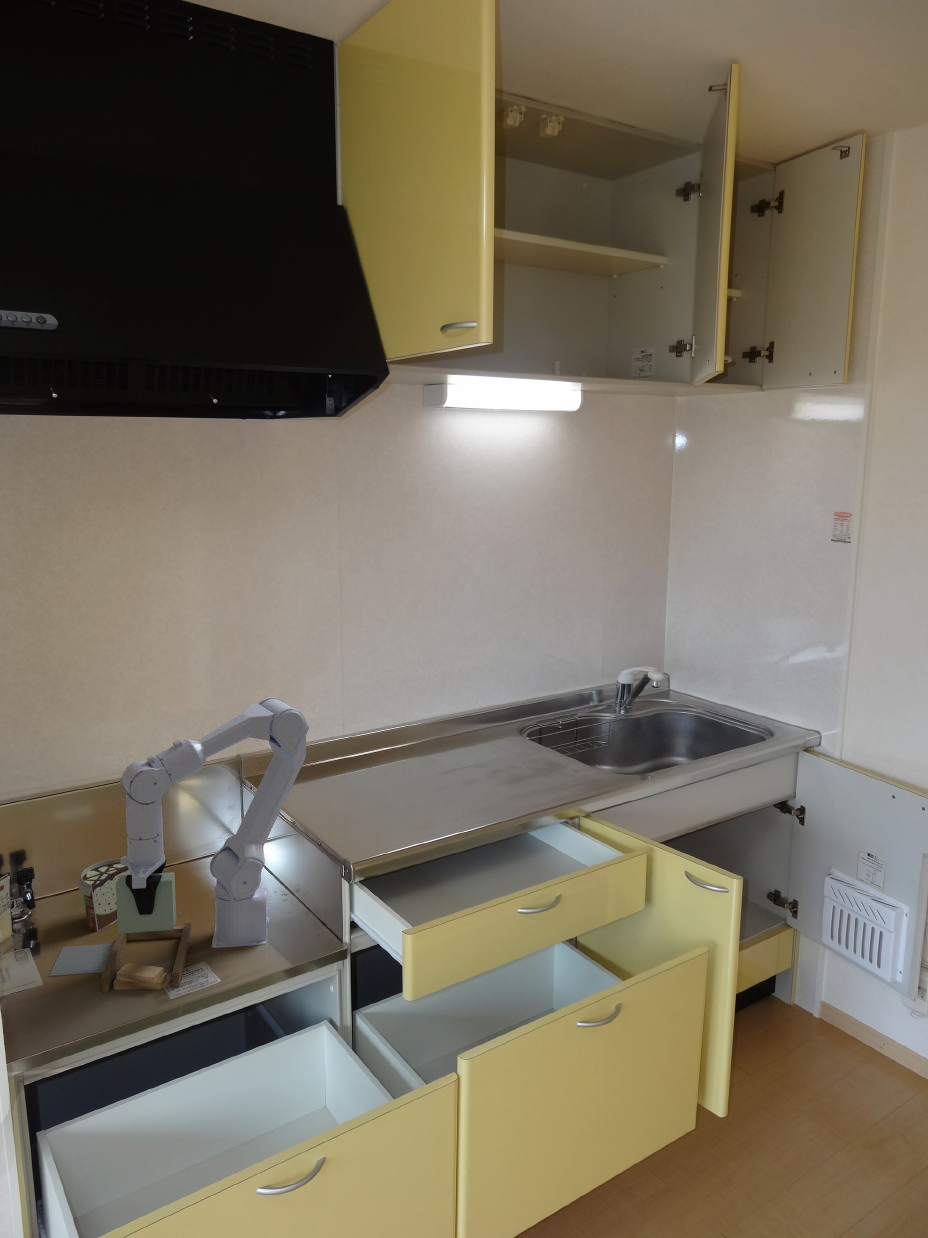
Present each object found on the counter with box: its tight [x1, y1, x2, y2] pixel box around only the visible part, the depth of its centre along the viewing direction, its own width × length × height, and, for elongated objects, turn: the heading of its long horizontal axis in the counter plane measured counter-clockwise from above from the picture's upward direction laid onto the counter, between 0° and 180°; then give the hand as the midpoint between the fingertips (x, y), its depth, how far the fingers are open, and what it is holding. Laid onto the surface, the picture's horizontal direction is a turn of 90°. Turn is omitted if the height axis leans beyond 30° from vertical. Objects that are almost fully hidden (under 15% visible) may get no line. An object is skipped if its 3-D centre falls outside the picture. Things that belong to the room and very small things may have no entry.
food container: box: [77, 857, 131, 932], centre depth 167 cm, size 12×6×10 cm, turn 159°
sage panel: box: [116, 871, 177, 935], centre depth 152 cm, size 9×3×9 cm, turn 100°
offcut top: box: [116, 962, 165, 984], centre depth 146 cm, size 7×3×1 cm, turn 81°
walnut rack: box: [100, 922, 193, 994], centre depth 153 cm, size 12×17×3 cm
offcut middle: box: [113, 972, 168, 991], centre depth 146 cm, size 8×3×1 cm, turn 90°
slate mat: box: [48, 943, 114, 977], centre depth 153 cm, size 9×9×1 cm
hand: (147, 908), depth 152 cm, fingers closed on sage panel, 3 cm apart
